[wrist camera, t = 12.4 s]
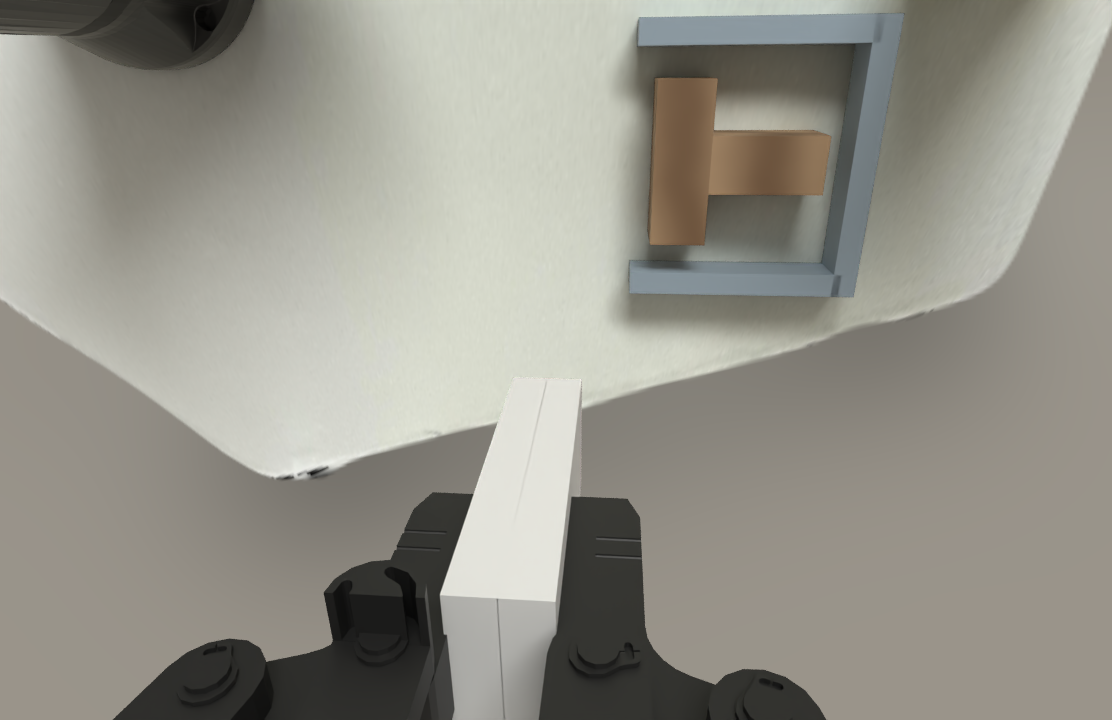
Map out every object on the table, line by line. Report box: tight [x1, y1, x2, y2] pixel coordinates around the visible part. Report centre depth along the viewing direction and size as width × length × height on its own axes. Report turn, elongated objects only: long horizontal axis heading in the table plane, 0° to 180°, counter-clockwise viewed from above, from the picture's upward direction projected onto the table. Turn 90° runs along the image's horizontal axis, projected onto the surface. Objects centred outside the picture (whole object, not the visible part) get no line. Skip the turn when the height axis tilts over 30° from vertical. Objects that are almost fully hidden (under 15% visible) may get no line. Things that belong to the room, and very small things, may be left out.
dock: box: [629, 13, 904, 297], centre depth 43 cm, size 15×17×3 cm
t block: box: [648, 77, 831, 245], centre depth 43 cm, size 10×10×4 cm
